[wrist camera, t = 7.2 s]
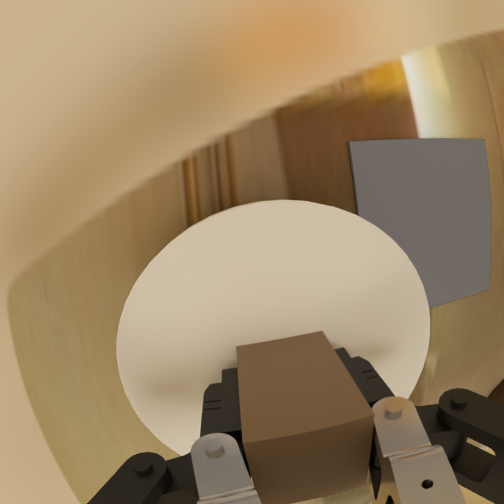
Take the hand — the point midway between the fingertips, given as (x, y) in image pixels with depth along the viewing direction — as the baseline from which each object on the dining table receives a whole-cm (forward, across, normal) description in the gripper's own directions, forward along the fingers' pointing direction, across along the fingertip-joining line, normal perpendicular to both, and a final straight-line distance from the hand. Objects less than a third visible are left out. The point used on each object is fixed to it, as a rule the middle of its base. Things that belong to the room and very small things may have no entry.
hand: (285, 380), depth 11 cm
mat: (+13, -16, -2) cm, 21 cm away
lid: (+1, 0, 0) cm, 1 cm away
